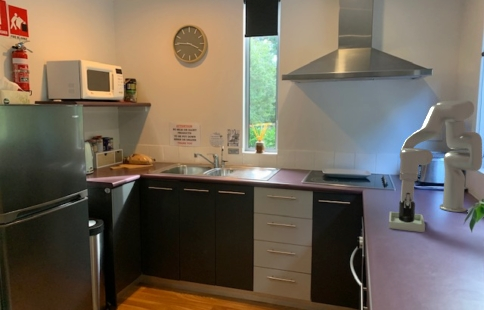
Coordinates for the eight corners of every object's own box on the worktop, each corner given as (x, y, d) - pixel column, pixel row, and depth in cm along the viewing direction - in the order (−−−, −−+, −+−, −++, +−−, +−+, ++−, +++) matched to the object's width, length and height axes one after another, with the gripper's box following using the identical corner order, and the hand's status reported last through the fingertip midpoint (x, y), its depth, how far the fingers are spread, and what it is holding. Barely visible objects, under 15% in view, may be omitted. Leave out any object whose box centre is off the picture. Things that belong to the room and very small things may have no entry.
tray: (389, 217, 182) (389, 211, 182) (421, 220, 176) (422, 214, 176) (388, 228, 166) (389, 221, 165) (424, 232, 160) (424, 225, 160)
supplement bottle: (400, 217, 176) (402, 193, 174) (416, 219, 171) (417, 195, 170) (396, 220, 170) (397, 195, 169) (412, 223, 166) (413, 197, 165)
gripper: (399, 173, 178) (397, 208, 180) (399, 179, 162) (398, 218, 164) (416, 174, 175) (414, 210, 177) (418, 180, 159) (416, 220, 161)
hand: (406, 213), depth 171 cm, fingers closed on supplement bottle, 6 cm apart
